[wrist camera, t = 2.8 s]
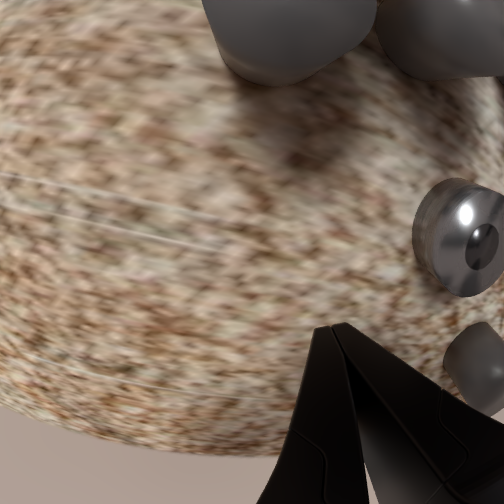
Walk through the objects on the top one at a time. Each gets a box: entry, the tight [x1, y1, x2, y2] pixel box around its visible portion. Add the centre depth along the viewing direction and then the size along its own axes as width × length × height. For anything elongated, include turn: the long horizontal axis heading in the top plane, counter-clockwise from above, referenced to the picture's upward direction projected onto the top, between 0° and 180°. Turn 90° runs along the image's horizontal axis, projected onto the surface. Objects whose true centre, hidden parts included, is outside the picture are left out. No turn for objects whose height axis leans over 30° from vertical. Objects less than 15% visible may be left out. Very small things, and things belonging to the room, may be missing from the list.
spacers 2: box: [443, 322, 504, 417], centre depth 13 cm, size 11×4×4 cm, turn 100°
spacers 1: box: [202, 0, 504, 87], centre depth 7 cm, size 16×4×4 cm, turn 100°
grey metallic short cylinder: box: [412, 178, 504, 297], centre depth 11 cm, size 5×5×3 cm
